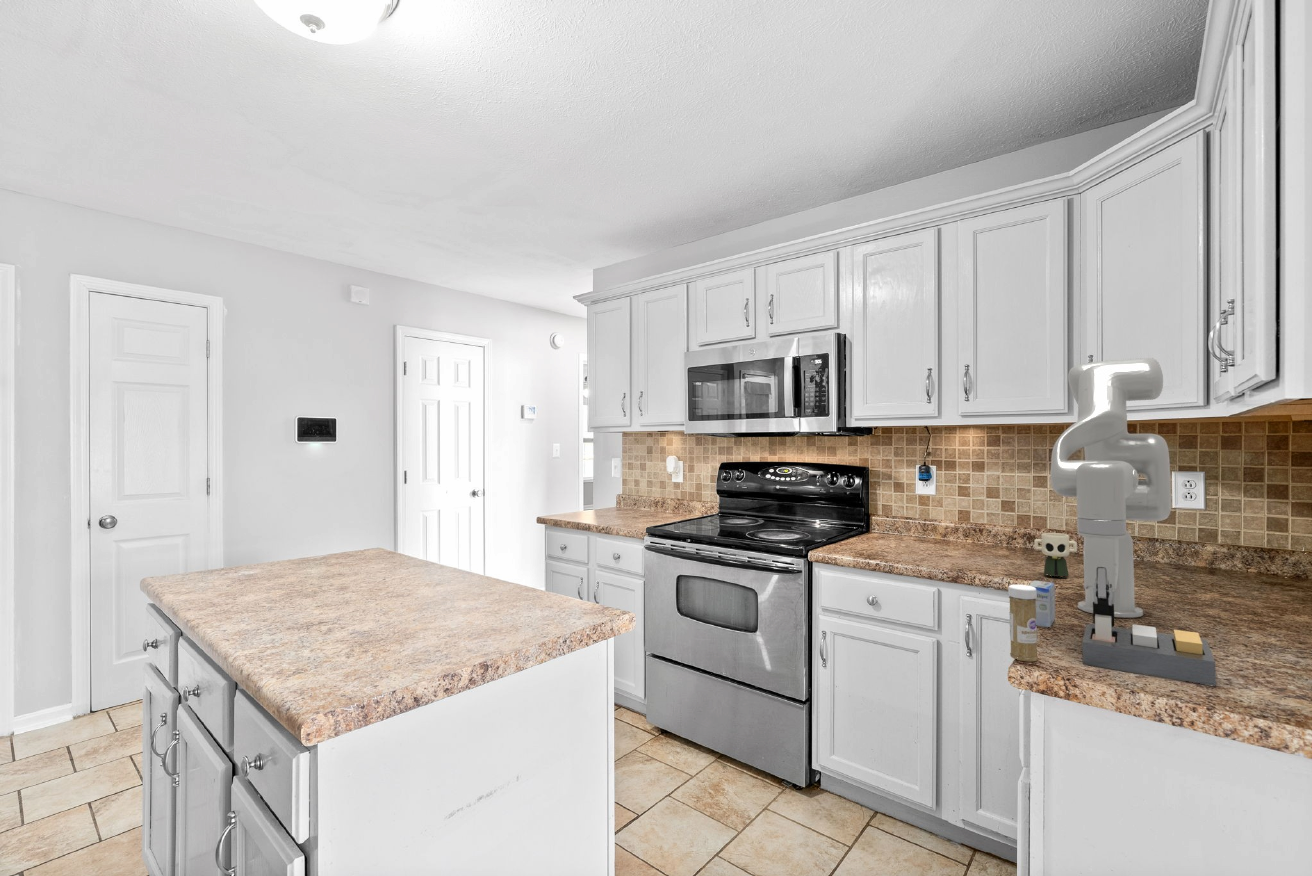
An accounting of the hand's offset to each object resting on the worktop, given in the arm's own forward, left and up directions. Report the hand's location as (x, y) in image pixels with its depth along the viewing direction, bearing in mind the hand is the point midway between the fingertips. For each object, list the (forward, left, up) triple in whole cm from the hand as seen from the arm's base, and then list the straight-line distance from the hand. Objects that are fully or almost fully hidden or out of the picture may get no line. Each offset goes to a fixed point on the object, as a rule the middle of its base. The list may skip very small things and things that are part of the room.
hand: (1103, 624), depth 117 cm
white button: (+1, +6, -2) cm, 6 cm away
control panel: (+1, +6, -6) cm, 8 cm away
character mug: (-79, -14, -6) cm, 81 cm away
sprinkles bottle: (+11, -12, -6) cm, 17 cm away
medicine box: (-19, -12, -6) cm, 24 cm away
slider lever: (+3, 0, -3) cm, 4 cm away
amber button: (+1, +12, -2) cm, 12 cm away
